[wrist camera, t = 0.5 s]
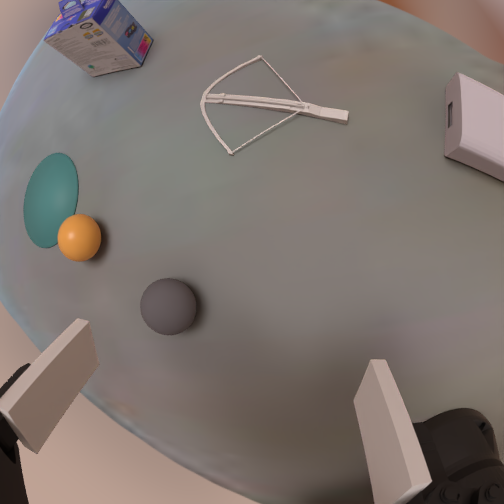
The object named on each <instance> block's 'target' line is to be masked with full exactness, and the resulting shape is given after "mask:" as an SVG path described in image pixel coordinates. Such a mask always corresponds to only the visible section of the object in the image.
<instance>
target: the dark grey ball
mask: <svg viewBox="0 0 504 504" xmlns="http://www.w3.org/2000/svg"><path fill="white" fill-rule="evenodd" d="M140 308H141V314H142V317H143V319H144V321H145V322H146V324H147V325H148V326H149V327H150V328H151V329H152V330H154V331H155V332H157V333H160V334H163V335H175V334H178V333H181V332H183V331H184V330H186V329H187V328H188V327H189V326H190V325H191V324H192V322H193V320H194V318H195V315H196V308H197V306H196V300H195V297H194V295H193V293H192V291H191V290H190V289H189V287H188V286H187V285H185V284H184V283H182V282H181V281H178V280H175V279H170V278H167V279H160V280H157V281H155V282H153V283H152V284H151V285H149V286H148V287H147V289H146V290H145V291H144V293H143V295H142V298H141V304H140Z"/></svg>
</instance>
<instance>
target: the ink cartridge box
mask: <svg viewBox="0 0 504 504" xmlns="http://www.w3.org/2000/svg"><path fill="white" fill-rule="evenodd" d="M71 1H76V5H74V6H72V7H70V8H68V9H64V6H65V5H66V4H67V3H68V2H71ZM59 7H60V11H61V13H60V14H59V15H58V17H57V18H56V20H55V21H54V23H53V24H52V26H51V27H50V29H49V31H48V33H47V35H46V37H45V38H44V41H45V42H46V43H47V44H49V45H50V46H52V47H53V48H54V49H56V50H57V51H59V52H60V53H61V54H63V55H64V56H66V57H67V58H68V59H70V60H71V61H72V62H74V63H75V64H76V65H78V66H79V67H80V68H82V69H83V70H84V71H86V72H87V73H88V74H90V75H91V76H93V77H94V76H98V75H102V74H106V73H110V72H115V71H119V70H124V69H129V68H134V67H140V66H141V65H142V63H143V60H144V58H145V56H146V54H147V52H148V50H149V48H150V45H151V43H152V42H153V39H152V38H151V37H150V36H149V35H148V33H147V32H146V31H145V30H144V29H143V28H142V26H141V25H140V24H139V23H138V22H137V21H136V20H135V18H134V17H133V16H132V15H131V14H130V13H129V12H128V11H127V9H126V8H125V7H124V6H123V5H122V4H121V3H120V2H119V1H118V0H85V1H83V2H81V1H80V0H63V1H61V2H59Z"/></svg>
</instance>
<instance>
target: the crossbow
mask: <svg viewBox="0 0 504 504" xmlns="http://www.w3.org/2000/svg"><path fill="white" fill-rule="evenodd" d="M262 59H263V56H257V57H256V58H254V59H252V60H250V61H248V62H246V63H244V64H241V65H240V66H238V67H236V68H234V69H233V70H231V71H229V72H228V73H226V74H225V75H223V76H222V77H220V78H219V79H218V80H216V81H215V82H214V83H212V84H211V85H210V87H209V88H208V89H207V90H205V92H204V93H203V97H202V99H201V102H200V106H201V110H202V114H203V116H204V118H205V120H206V122H207V124H208V126H209V127H210V129H211V130H212V132H213V133H214V135H215V136H216V138H217V139H218V140H219V141H220V142H221V144H222V145H223V146H224V147H225V148H226V149H227V151H228V154H230V155H234V154H233V152H234V151H236V150H237V149H239V148H241V147H242V146H244V145H245V144H247V143H248V142H250V141H251V140H253V139H255V138H256V137H258V136H259V135H261V134H263V133H264V132H266V131H268V130H269V129H271V128H273V127H274V126H276V125H278V124H279V123H281V122H283V121H284V120H286V119H288V118H289V117H291V116H293V115H295V114H302V115H306V116H312V117H315V118H320V119H324V120H329V121H334V122H338V123H342V124H346V125H347V121H348V114H349V111H345V110H339V109H332V108H325V107H320V106H317V105H314V104H310V103H304V102H302V101H301V100H300V99H299V97H298V96H297V95H296V94H295V93H294V92H293V90H292V89H291V88H290V87H289V86H288V85H287V84H286V82H285V81H284V80H283V79H282V78H281V77H280V76H279V75H278V74H277V73H276V71H275V70H274V69H273V68H272V67H271V66H270V65H269V64H268V63H267V62H266V61H265V60H264V59H263V60H264V61H265V62H266V63H267V64H268V65H269V66H270V67H271V68H272V70H273V71H274V72H275V73H276V74H277V75H278V76H279V77H280V78H281V79H282V80H283V82H284V83H285V84H286V85H287V86H288V87H289V88H290V90H291V91H292V92H293V93H294V94H295V95H296V96H297V98H298V99H299V100H300V101H301V102H298V101H291V100H285V99H274V98H265V97H254V96H241V95H226V94H225V93H221V94H209V92H210V91H211V90H212V89H213V87H214V86H215V85H216V84H218V83H219V82H221V81H222V80H223V79H225V78H226V77H228V76H229V75H231V74H233V73H235V72H236V71H238V70H240V69H242V68H244V67H246V66H248V65H250V64H253V63H255V62H257V61H260V60H262ZM205 103H218V104H229V105H238V106H247V107H255V108H262V109H269V110H276V111H282V112H289V113H294V114H292V115H291V116H289V117H287V118H286V119H284V120H282V121H281V122H279V123H277V124H275V125H274V126H272V127H270V128H269V129H267V130H266V131H264V132H262V133H261V134H259V135H257V136H256V137H254V138H253V139H251V140H250V141H248V142H246V143H245V144H243V145H242V146H240V147H239V148H237V149H236V150H234V151H231V150H230V148H229V147H228V146H227V145H226V144H225V143H224V142H223V140H222V139H221V138H220V136H219V135H218V133H217V132H216V130H215V129H214V127H213V126H212V124H211V122H210V120H209V118H208V116H207V114H206V110H205Z"/></svg>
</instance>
